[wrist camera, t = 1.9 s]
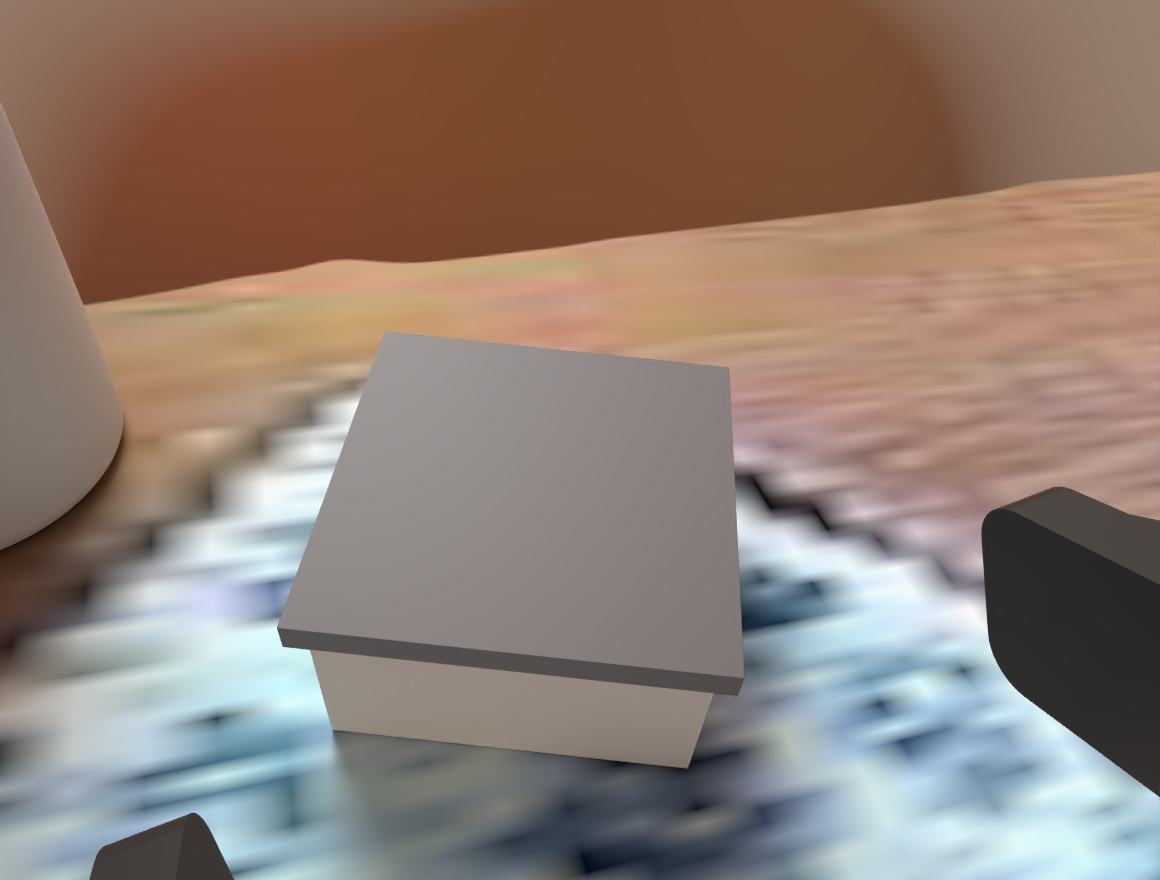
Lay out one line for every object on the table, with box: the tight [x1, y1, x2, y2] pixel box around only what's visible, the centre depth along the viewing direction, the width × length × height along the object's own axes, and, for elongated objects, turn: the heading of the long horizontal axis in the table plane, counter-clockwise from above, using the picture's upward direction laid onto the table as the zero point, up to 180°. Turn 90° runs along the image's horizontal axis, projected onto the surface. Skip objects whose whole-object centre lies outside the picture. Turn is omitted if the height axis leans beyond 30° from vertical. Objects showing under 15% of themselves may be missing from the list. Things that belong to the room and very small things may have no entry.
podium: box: [277, 332, 744, 768], centre depth 32 cm, size 13×13×7 cm
